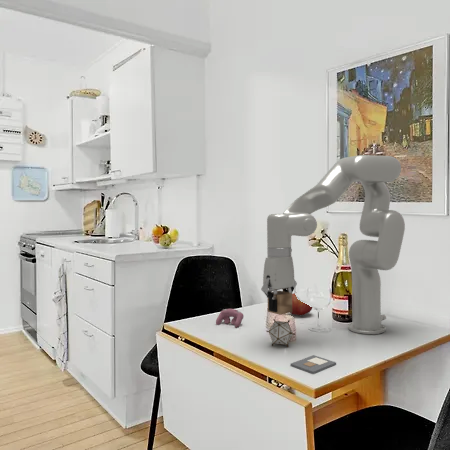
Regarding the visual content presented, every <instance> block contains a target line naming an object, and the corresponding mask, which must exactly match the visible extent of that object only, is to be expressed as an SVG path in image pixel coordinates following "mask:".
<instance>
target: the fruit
mask: <svg viewBox="0 0 450 450" xmlns="http://www.w3.org/2000/svg"><path fill="white" fill-rule="evenodd" d="M295 293H296V292H292V312H290V313H289V314H290V315H291V314H292V315H295V316H300V315H301V316H305V315H307V314H309V313H310V312H311V311H312V310H313V307H310V306H309V305H307V304H305V303H303V302H301V301H300V300H298V299H297V297H296V295H295Z"/></svg>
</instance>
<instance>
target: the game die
mask: <svg viewBox="0 0 450 450" xmlns="http://www.w3.org/2000/svg"><path fill="white" fill-rule="evenodd" d="M272 321H273V323H272V325H271V327H270V328H269V329H268V330H265V331H266V333H269V334H268V335H269V336H270V339H271V341H272V344H271V346H272V347H273V346H274V345H285V346H286V347H287V348H289V345H288V344H289V342H290V341H291V339H292V337H293V336H296V333H294V332H293V330H292V328H291V325H290V324H289V323H290V321H291V320H290V319H289V320H287V321H282V320H281V321H278V320H276V319H275V318H273V320H272Z"/></svg>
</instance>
